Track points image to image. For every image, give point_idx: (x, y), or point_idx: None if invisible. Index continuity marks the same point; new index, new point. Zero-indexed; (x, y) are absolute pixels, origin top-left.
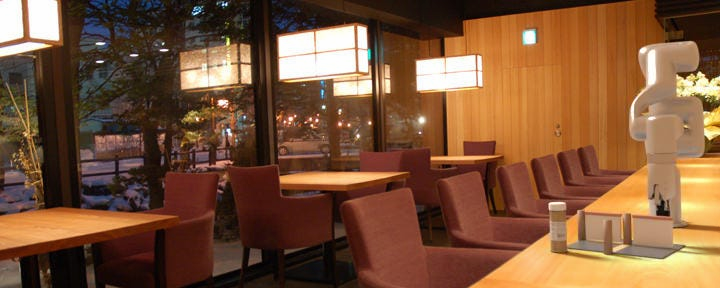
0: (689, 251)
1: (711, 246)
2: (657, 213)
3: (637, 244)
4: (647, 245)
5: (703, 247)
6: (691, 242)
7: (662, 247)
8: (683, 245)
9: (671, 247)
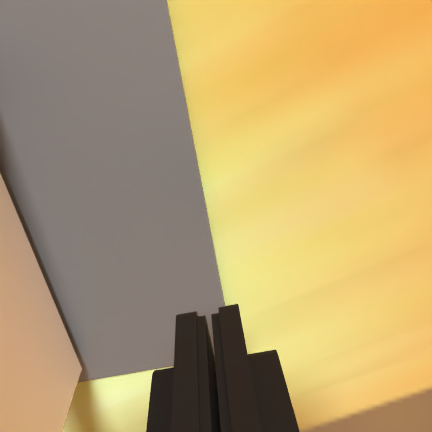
0: (107, 415)
1: (309, 421)
2: (174, 427)
3: (14, 151)
4: (42, 220)
5: None
6: (369, 323)
7: (61, 312)
8: None
9: (102, 343)
